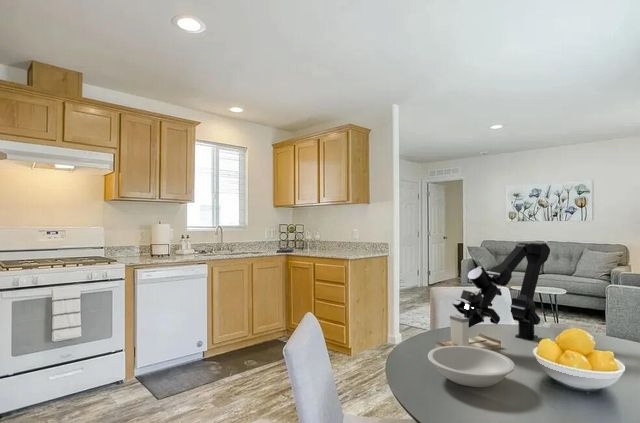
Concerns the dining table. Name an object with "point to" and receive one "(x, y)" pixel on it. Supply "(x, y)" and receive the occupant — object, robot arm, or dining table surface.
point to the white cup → (558, 329)
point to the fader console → (476, 343)
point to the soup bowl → (471, 365)
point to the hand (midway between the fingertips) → (463, 328)
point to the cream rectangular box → (459, 330)
